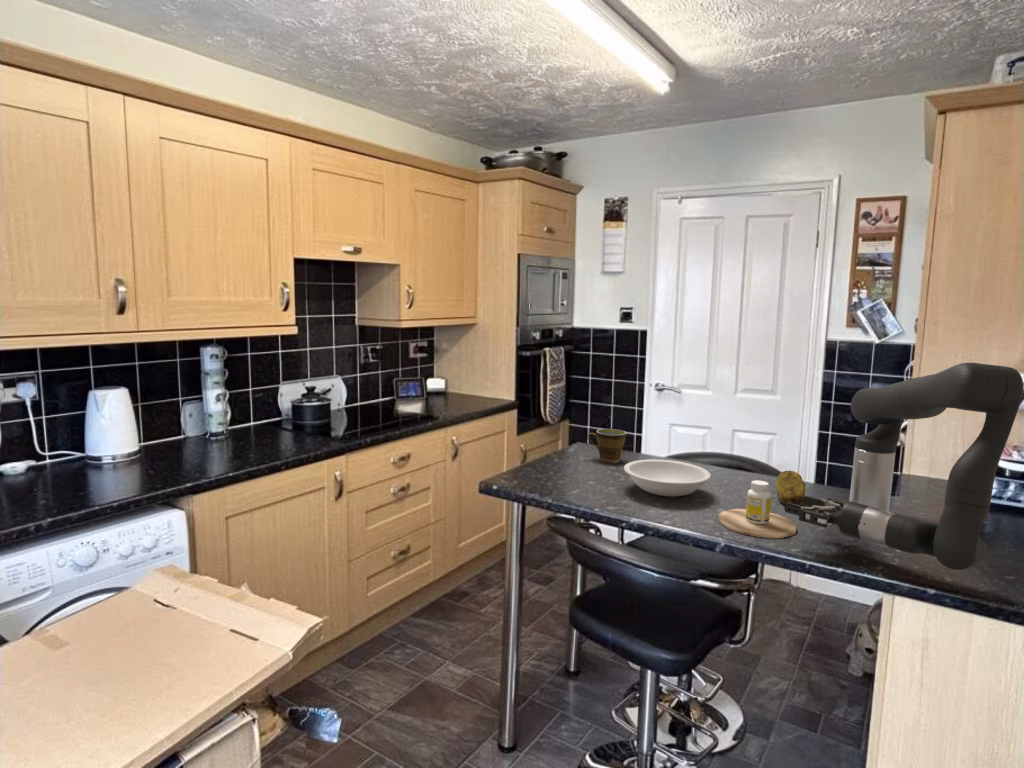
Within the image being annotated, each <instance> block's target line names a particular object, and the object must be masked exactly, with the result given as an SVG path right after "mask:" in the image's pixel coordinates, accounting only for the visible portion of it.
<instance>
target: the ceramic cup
mask: <svg viewBox="0 0 1024 768" xmlns="http://www.w3.org/2000/svg"><path fill="white" fill-rule="evenodd" d="M590 435H593V436H594V437H595V439H596V440H597V444H598V445H596V444H595V443H594V441H592V440H591V439H590V438H589V436H590ZM586 438H587V440H588V441H589V442H590V443H591V444H592V445H593V446H594V447H596V449H597V451H598V453H599V460H600V462H603V463H607V464H616V463H620V461H621V456H622V451H623V448H624V445H625V441H626V438H627V432H626V431H625V430H622V429H618V428H617V429H616V428H600V429H597V430H596V433H594V432H589V433H587V436H586Z"/></svg>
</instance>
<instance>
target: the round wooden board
mask: <svg viewBox="0 0 1024 768" xmlns="http://www.w3.org/2000/svg"><path fill="white" fill-rule="evenodd" d="M717 520H718V523H719V525H721V526H722V527H724V528H725V529H727V530H730V531H732V532H734V533H737V532H738V533H737V534H740V533H741V535H744V534H746V535H745V536H748V535H750V537H753V536H755V537H754V538H760V537H761V539H762V538H763V539H785V538H784V537H786V538H788V537H789V536H790V537H792V536H795V534H796V533H797V525H796V524H795V522H793V521H792V520H790V519H789V518H787V517H785V516H782V515H779V514H776V513H773V512H770V516H769V522H768V523H767V524H755V523H751V522H749V521H747V520H746V508H732V509H726V510H723V511H721V512H720V513H719V514H718V515H717ZM790 537H789V538H790Z"/></svg>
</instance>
